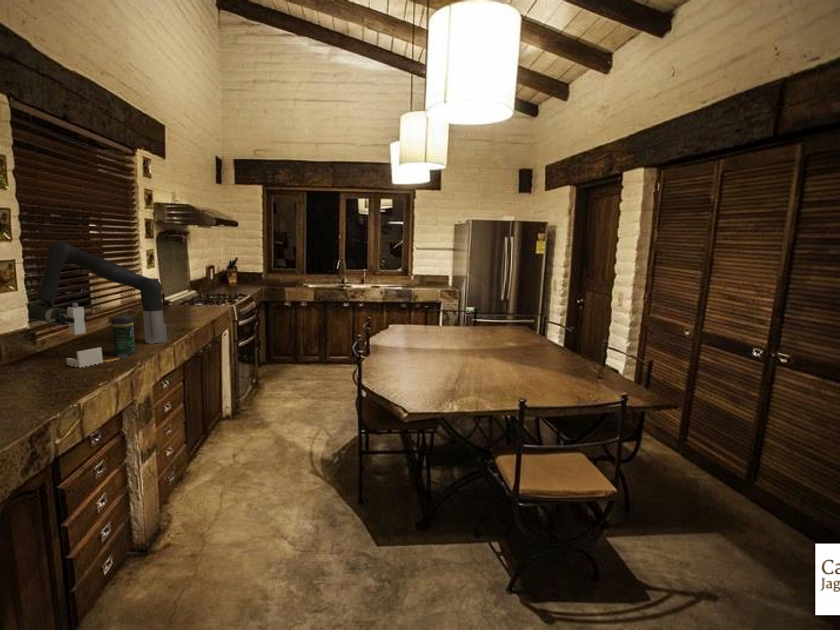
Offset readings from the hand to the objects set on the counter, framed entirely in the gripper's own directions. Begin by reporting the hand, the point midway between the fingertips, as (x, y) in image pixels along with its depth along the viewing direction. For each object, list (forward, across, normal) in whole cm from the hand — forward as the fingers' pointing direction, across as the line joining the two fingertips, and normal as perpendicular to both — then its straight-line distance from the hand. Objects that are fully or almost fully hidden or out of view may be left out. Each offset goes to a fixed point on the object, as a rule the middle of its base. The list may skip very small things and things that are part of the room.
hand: (79, 319), depth 215 cm
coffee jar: (+8, +15, +18) cm, 25 cm away
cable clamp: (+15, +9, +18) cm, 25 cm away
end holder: (+11, -5, +18) cm, 21 cm away
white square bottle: (-3, 0, +6) cm, 7 cm away
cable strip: (+13, +3, +18) cm, 22 cm away
